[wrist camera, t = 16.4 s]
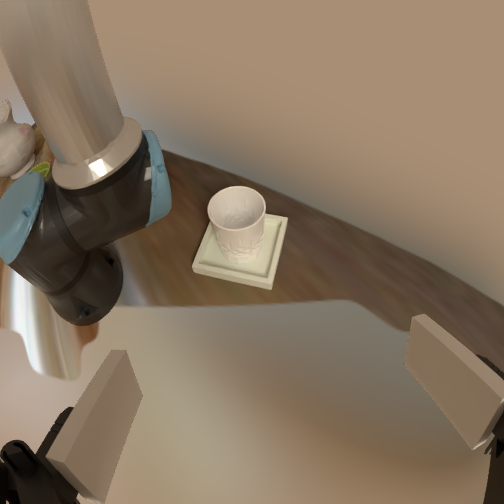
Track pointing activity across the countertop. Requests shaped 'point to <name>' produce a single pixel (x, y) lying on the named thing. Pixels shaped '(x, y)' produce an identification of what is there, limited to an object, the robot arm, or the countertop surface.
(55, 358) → the countertop surface
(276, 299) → the countertop surface
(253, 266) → the coaster tray
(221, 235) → the white cup
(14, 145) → the ceramic pitcher
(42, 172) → the plant pot
